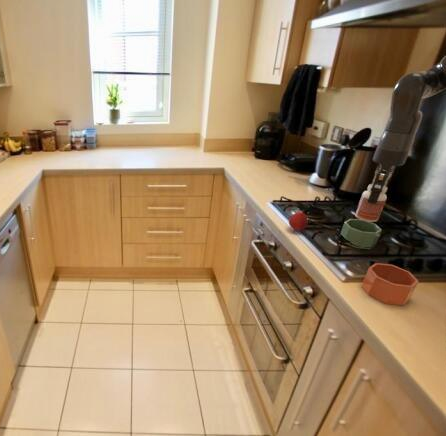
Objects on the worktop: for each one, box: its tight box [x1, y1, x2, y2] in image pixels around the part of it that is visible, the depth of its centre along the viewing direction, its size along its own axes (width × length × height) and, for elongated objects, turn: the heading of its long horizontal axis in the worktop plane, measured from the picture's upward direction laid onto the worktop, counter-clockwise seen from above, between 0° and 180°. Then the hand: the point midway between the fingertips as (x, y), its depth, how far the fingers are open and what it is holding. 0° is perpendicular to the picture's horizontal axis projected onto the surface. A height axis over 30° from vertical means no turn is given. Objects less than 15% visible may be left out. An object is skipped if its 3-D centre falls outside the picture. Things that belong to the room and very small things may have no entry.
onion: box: [288, 210, 309, 232], centre depth 112 cm, size 6×6×8 cm
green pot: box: [339, 218, 383, 250], centre depth 105 cm, size 9×9×6 cm
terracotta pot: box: [361, 262, 420, 306], centre depth 83 cm, size 9×9×6 cm
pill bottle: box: [354, 183, 388, 223], centre depth 100 cm, size 6×6×11 cm
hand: (373, 199), depth 99 cm, fingers closed on pill bottle, 6 cm apart
